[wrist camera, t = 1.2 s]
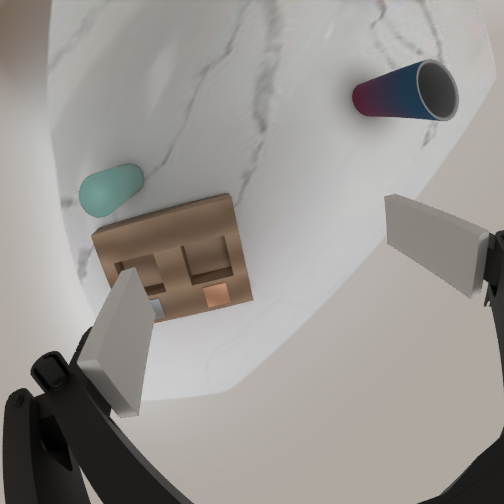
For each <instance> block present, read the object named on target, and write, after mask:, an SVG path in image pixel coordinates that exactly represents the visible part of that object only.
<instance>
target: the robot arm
mask: <svg viewBox="0 0 504 504" xmlns="http://www.w3.org/2000/svg"><path fill="white" fill-rule="evenodd" d="M384 199H385V210H386V224H387V243H388V244H389V245H390V246H392V247H394V248H395V249H397V250H398V251H400V252H402V253H403V254H405V255H406V256H408V257H409V258H411V259H413V260H414V261H416V262H417V263H419V264H420V265H422V266H423V267H425V268H426V269H428V270H429V271H431V272H432V273H434V274H435V275H437V276H438V277H440V278H441V279H443V280H444V281H446V282H447V283H449V284H450V285H452V286H453V287H455V288H456V289H457V290H459V291H460V292H461V293H463V294H464V295H465V296H467V297H468V298H470V299H471V298H473V297H474V296H476V295H477V294H479V293H480V292H481V289H482V284H483V279H484V280H486V281H487V282H489V283H488V288H487V293H486V298H485V302H484V306H486V305H487V302H488V301H490V305H489V306H490V307H491V308H492V312H493V317H494V322H495V326H496V331H497V338H498V344H499V350H500V357H501V364H502V374H503V384H504V230H503V231H499V232H497V233H496V234H495V235H493V234H491V233H489V230H486V229H484V228H482V227H480V226H477V225H475V224H473V223H470V222H468V221H466V220H463V219H461V218H458V217H456V216H453V215H451V214H448V213H446V212H444V211H441V210H438V209H435V208H433V207H430V206H428V205H425V204H422V203H420V202H417V201H414V200H411V199H409V198H406V197H403V196H400V195H397V194H393V195H389V196H385V197H384ZM155 315H156V313H155V311H154V309H153V307H152V305H151V303H150V300H149V298H148V296H147V294H146V292H145V289H144V287H143V285H142V282H141V280H140V278H139V275H138V273H137V271H136V268H135V267H133V268H130V269H127V270H123V271H121V273H120V274H119V276H118V278H117V280H116V282H115V284H114V286H113V287H112V289H111V291H110V293H109V295H108V297H107V299H106V301H105V303H104V305H103V307H102V309H101V311H100V313H99V315H98V317H97V319H96V321H95V323H94V325H93V327H90V328H89V329H88V330H87V331H86V332H85V333H84V335H83V336H82V338H81V340H80V342H79V345H78V346H77V349H76V352H75V353H74V355H73V357H72V359H71V362H70V364H69V365H68V364H67V362H66V361H65V359H64V358H63V356H62V355H61V354H60V353H59V352H58V351H52V352H49V353H46V354H44V355H43V356H41V357H40V358H39V359H38V360H37V361H36V362H35V363H34V365H33V366H32V368H31V376H32V377H33V378H34V380H35V381H36V382H37V384H38V385H39V386H40V387H41V389H42V390H43V391H44V392H45V393H44V394H41V395H39V396H36V397H33V396H32V394H31V393H30V392H29V391H28V390H27V389H26V388H21V389H18V390H16V391H15V392H13V393H12V394H11V395H10V396H9V398H8V400H7V402H6V405H5V412H4V425H3V480H4V494H5V503H6V504H91V503H90V500H89V497H88V494H87V491H86V488H85V484H84V481H83V478H82V474H81V471H80V468H81V469H82V471H83V473H84V474H85V476H86V478H87V479H88V481H89V482H90V484H91V486H92V487H93V489H94V490H95V492H96V493H97V495H98V496H99V498H100V499H101V501H102V502H103V504H194V503H192V502H191V501H190V500H189V499H188V498H187V497H185V496H184V495H183V494H182V493H181V492H180V491H179V490H178V489H176V488H175V487H174V486H173V485H172V484H171V483H170V482H169V481H168V480H167V479H165V477H164V476H163V475H162V474H161V473H160V472H159V471H158V470H157V469H156V468H154V466H153V465H152V464H150V462H149V461H148V460H147V459H146V458H145V457H144V456H143V455H142V454H141V453H140V451H139V450H138V449H137V448H136V447H135V446H134V445H133V444H132V443H131V441H130V440H129V439H128V438H127V437H126V436H125V434H124V433H123V432H122V431H121V429H120V428H119V427H118V426H117V425H116V423H115V422H114V421H113V420H112V419H111V418H110V412H111V408H112V409H113V410H114V411H115V413H116V414H117V415H118V416H119V417H120V418H123V417H133V416H138V415H139V408H140V401H141V394H142V387H143V381H144V374H145V368H146V362H147V356H148V351H149V345H150V340H151V335H152V329H153V324H154V319H155ZM79 466H80V467H79ZM418 504H504V427H503V430H502V433H501V435H500V438H499V439H498V440H497V441H496V442H494V443H493V444H492V445H491V446H490V447H489V448H487V449H486V450H485V451H484V452H483V453H482V454H480V455H479V456H478V457H477V458H476V459H475V460H474V461H473V462H472V463H471V465H470V466H469V467H468V468H467V469H466V470H465V471H464V472H463V473H462V474H461V475H460V476H459V477H458V478H457V479H456V480H455V481H454V482H453V483H452V484H451V485H450V486H449V487H448V488H447V489H446V490H444V491H443V492H442V493H441V494H440V495H439V496H437V497H435V498H432V499H429V500H426V501H423V502H421V503H418Z"/></svg>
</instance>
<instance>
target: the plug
mask: <svg viewBox="0 0 504 504" xmlns="http://www.w3.org/2000/svg"><path fill="white" fill-rule="evenodd" d="M143 183H144V175H143V172H142V170H141V169H140V168H139V167H138V166H136V165H134V164H126V165H122V166H118V167H115V168H111V169H108V170H105V171H101V172H98V173H95V174H92V175H90V176H88V177H87V178H86V179H85V180H84V181H83V183H82V185H81V187H80V191H79V200H80V203H81V206H82V207H83V209H84V210H85V211H86V212H87V213H88V214H89V215H91V216H94V217H105V216H107V215H109V214H110V213H112V212H113V211H114V210H115V209H117V208H118V207H119V206H120V205H121V204H123V203H124V202H125V201H127V200H128V199H129V198H130V197H132V196H133V195H134V194H135V193H137V192H138V191H139V190H140V189H141V188H142V186H143Z"/></svg>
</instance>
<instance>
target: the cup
mask: <svg viewBox="0 0 504 504" xmlns="http://www.w3.org/2000/svg"><path fill="white" fill-rule="evenodd" d="M353 103H354V105H355V107H356V109H357V110H358V111H359V112H360V113H361V114H363V115H365V116H378V117H401V118H416V119H428V120H438V121H448V120H450V119H452V118H453V117H454V115H455V114H456V112H457V109H458V104H459V95H458V89H457V86H456V83H455V81H454V78H453V77H452V75H451V73H450V72H449V71H448V69H447V68H446V67H445V66H444V65H443V64H441V63H440V62H438V61H436V60H432V59H428V60H424V61H421V62H418V63H415V64H412V65H409V66H407V67H404V68H401V69H398V70H395V71H393V72H390V73H387V74H385V75H382V76H380V77H377V78H375V79H372V80H370V81H367V82H365V83H362V84H360V85H358V86H357V87H356V88H355V89H354V91H353Z"/></svg>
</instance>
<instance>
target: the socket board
mask: <svg viewBox="0 0 504 504" xmlns="http://www.w3.org/2000/svg"><path fill="white" fill-rule="evenodd" d="M91 237H92V240H93V243H94V246H95V248H96V251H97V254H98V257H99V259H100V262H101V265H102V267H103V270H104V272H105V275H106V277H107V280H108V282H109V285H110V287H111V289H112V287H113V286H114V284H115V282H116V280H117V278H118V276H119V274H120V273H121V271H123V270H127V269H130V268H133V267H135V268H136V271H137V273H138V275H139V278H140V280H141V282H142V285H143V287H144V289H145V292H146V294H147V296H148V298H149V300H150V303H151V305H152V307H153V309H154V311H155V313H156V315H155V319H154V323H157V322H162V321H167V320H171V319H176V318H180V317H185V316H189V315H194V314H198V313H203V312H207V311H211V310H215V309H220V308H224V307H228V306H232V305H236V304H240V303H244V302H248V301H252V300H253V296H252V292H251V287H250V283H249V278H248V274H247V269H246V264H245V260H244V255H243V251H242V246H241V241H240V237H239V232H238V227H237V223H236V218H235V213H234V209H233V204H232V199H231V197H230V195H229V193H228V194H223V195H219V196H215V197H210V198H206V199H202V200H198V201H194V202H190V203H186V204H182V205H178V206H174V207H171V208H167V209H163V210H159V211H156V212H152V213H148V214H145V215H141V216H138V217H134V218H131V219H127V220H124V221H120V222H117V223H114V224H110V225H107V226H104V227H101V228H99V229H98V230H97V231H96V232H94V233H93V234H92V235H91Z"/></svg>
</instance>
